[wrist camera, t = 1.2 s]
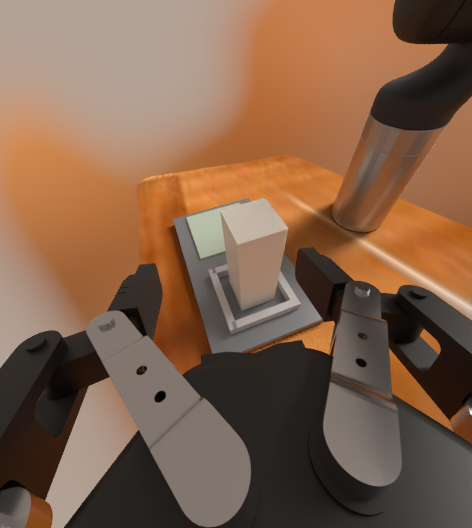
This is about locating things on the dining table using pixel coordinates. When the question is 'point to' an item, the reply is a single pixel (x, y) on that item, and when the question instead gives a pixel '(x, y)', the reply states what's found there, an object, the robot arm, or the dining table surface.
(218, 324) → the grey tray
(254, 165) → the dining table surface
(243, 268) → the cream block
